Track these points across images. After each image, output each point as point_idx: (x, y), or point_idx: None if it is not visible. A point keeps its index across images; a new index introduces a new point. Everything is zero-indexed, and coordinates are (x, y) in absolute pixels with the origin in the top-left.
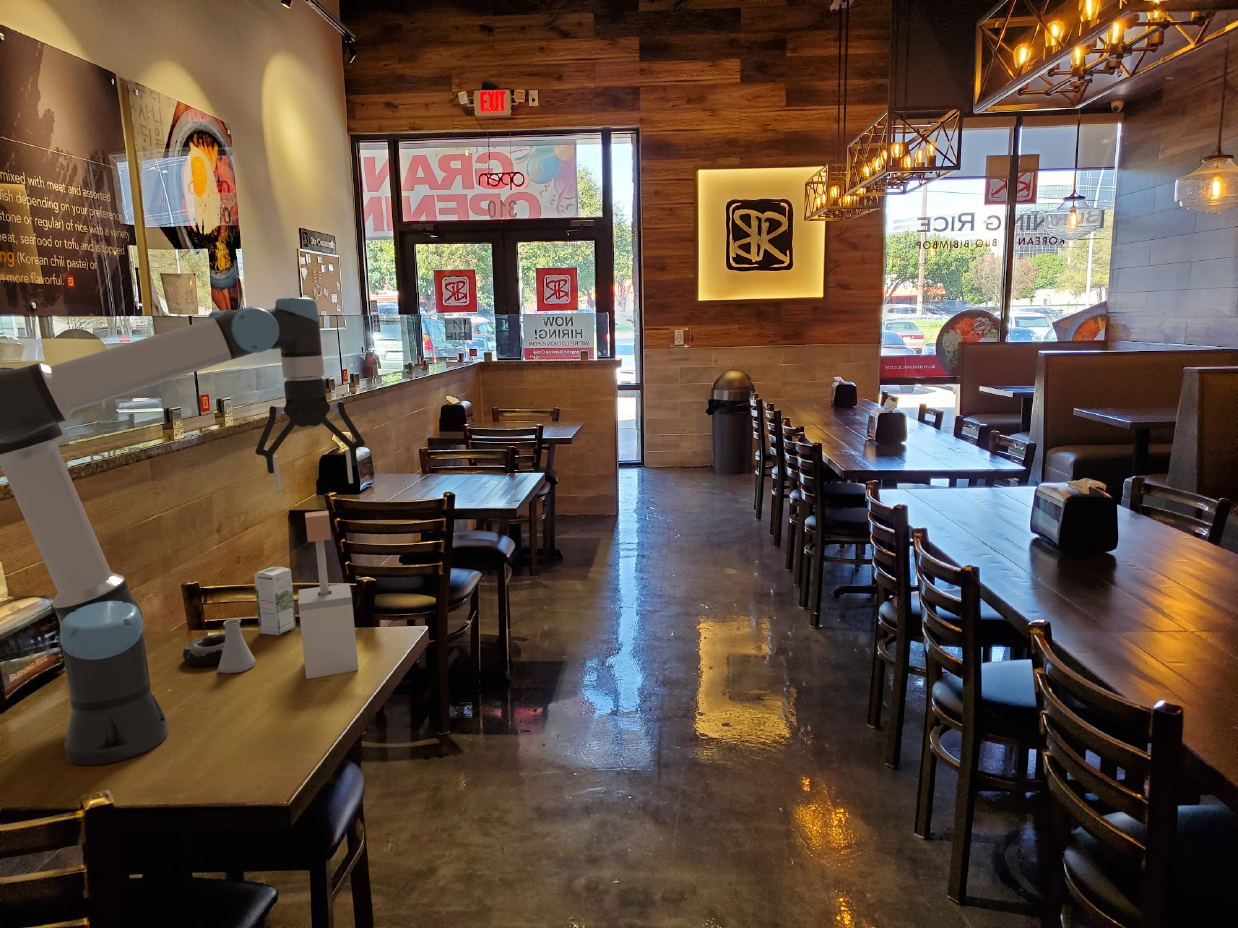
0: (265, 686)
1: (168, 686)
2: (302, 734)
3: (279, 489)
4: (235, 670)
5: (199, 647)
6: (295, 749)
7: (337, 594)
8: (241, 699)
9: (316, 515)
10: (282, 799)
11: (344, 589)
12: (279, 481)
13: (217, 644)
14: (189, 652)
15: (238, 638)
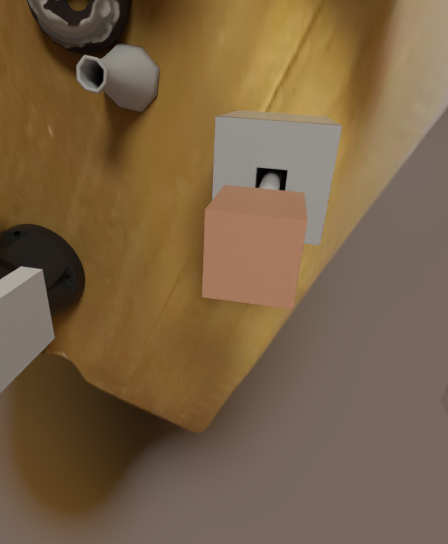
0: (178, 190)
1: (44, 113)
2: (219, 345)
3: (48, 341)
4: (130, 109)
5: (51, 21)
6: (211, 369)
7: None
8: (151, 219)
9: (245, 290)
10: (198, 432)
11: (317, 179)
12: (20, 353)
13: None
14: (39, 24)
15: (116, 88)
